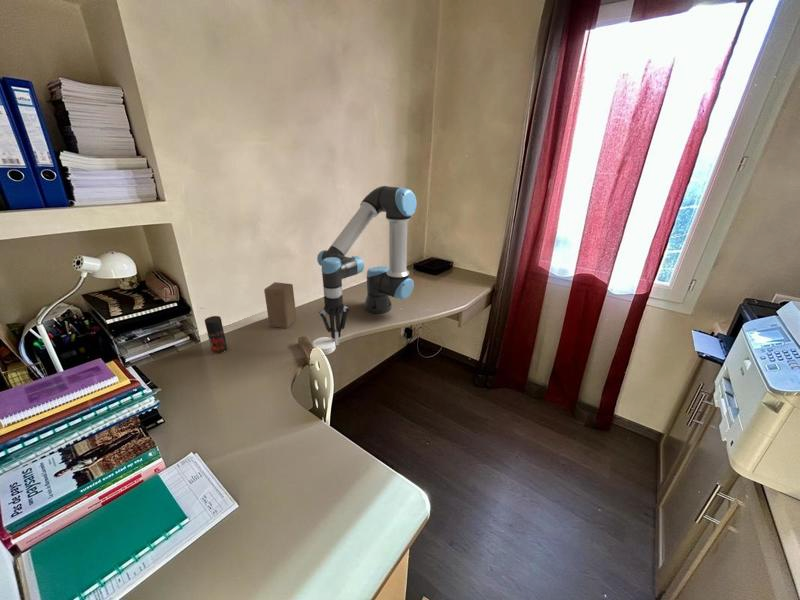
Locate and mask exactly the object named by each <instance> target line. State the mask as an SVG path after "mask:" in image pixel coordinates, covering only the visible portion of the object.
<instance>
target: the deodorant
mask: <svg viewBox="0 0 800 600" xmlns="http://www.w3.org/2000/svg"><path fill="white" fill-rule="evenodd" d="M222 322H223V321H222V318H221V316H219V315H213V316H212V315H211V316H208V317H206V318H205V319H204V324H205V328H206V332H207V333H206V334H207V337H208V340H209V345H210V349H211V353H212V352H213V353H212V354H214V353H221V354H223V353H222V352H224V351H225V352H227V351H228V345H227V341H226V336H225V331H224V327H223V323H222ZM226 350H227V351H226ZM225 352H224V353H225Z"/></svg>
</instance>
